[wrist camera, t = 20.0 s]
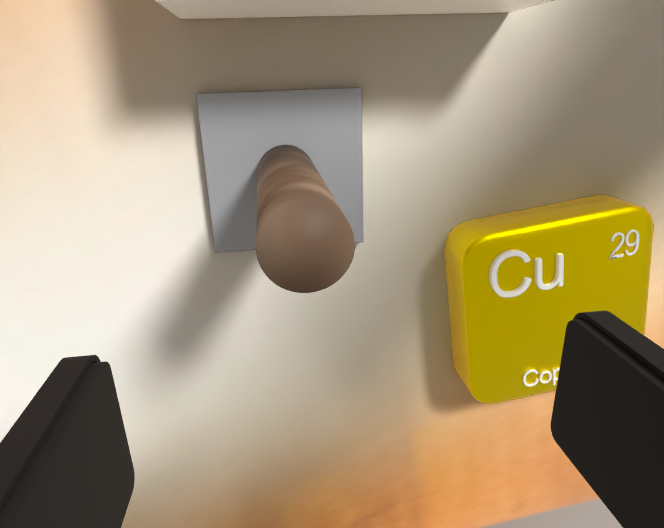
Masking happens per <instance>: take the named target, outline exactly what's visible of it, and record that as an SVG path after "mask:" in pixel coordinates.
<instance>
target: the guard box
mask: <svg viewBox="0 0 664 528" xmlns="http://www.w3.org/2000/svg"><path fill="white" fill-rule="evenodd" d="M155 1H156V2H157V3H159V4H160V5H162V6H163V7H164V8H166V9H167V10H168V11H170V12H171V13H173V14H174V15H175V16H177V17H178V18H180V19H210V18H259V17H307V16H356V15H405V14H454V13H502V12H513V11H517V10H520V9H524V8H528V7H531V6H535V5H539V4H542V3H546V2H550V1H553V0H155Z"/></svg>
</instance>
